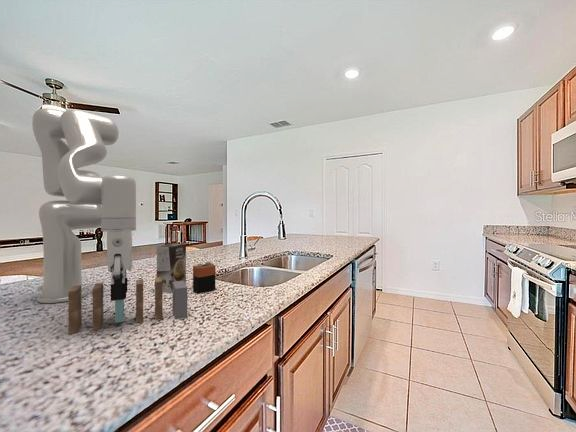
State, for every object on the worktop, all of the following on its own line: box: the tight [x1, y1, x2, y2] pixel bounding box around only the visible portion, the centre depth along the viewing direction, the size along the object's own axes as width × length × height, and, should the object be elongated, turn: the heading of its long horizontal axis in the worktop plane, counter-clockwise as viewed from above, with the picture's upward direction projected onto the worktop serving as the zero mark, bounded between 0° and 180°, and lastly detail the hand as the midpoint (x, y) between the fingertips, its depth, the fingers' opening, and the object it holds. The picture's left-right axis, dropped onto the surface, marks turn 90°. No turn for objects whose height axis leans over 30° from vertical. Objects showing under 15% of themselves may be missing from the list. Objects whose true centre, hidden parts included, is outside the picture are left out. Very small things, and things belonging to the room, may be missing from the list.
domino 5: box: [154, 277, 164, 321], centre depth 73 cm, size 2×5×10 cm, turn 28°
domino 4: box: [135, 278, 144, 324], centre depth 71 cm, size 2×5×10 cm, turn 28°
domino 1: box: [67, 285, 83, 335], centre depth 65 cm, size 2×5×10 cm, turn 28°
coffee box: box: [156, 243, 187, 293], centre depth 100 cm, size 9×6×16 cm
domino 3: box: [114, 299, 125, 324], centre depth 69 cm, size 2×5×10 cm, turn 28°
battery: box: [192, 261, 216, 294], centre depth 97 cm, size 4×7×10 cm, turn 137°
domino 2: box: [91, 282, 104, 331], centre depth 67 cm, size 2×5×10 cm, turn 28°
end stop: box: [171, 281, 188, 320], centre depth 76 cm, size 3×8×8 cm, turn 28°
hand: (119, 295), depth 69 cm, fingers closed on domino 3, 5 cm apart
